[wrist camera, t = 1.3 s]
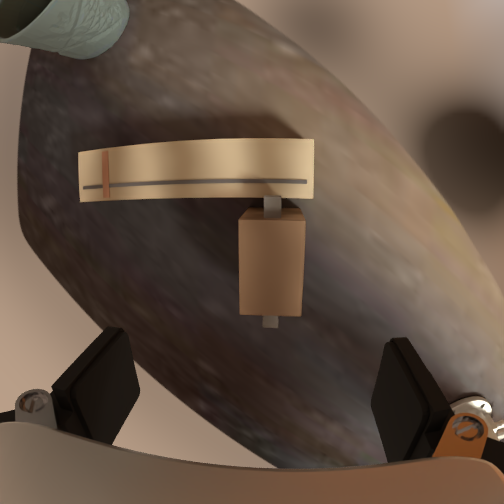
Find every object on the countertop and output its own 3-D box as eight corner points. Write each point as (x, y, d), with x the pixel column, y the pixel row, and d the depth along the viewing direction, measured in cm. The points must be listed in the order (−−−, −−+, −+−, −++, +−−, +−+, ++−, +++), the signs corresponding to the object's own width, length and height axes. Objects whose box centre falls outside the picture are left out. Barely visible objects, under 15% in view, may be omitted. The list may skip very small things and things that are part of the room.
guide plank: (309, 143, 26) (314, 139, 22) (308, 194, 27) (313, 198, 23) (100, 152, 28) (77, 152, 24) (102, 197, 29) (79, 202, 25)
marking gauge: (300, 191, 28) (306, 198, 21) (296, 297, 30) (299, 334, 23) (248, 190, 28) (238, 197, 21) (249, 296, 30) (240, 332, 24)
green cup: (153, 9, 24) (98, -48, 12) (90, 84, 26) (11, 59, 15) (100, -19, 23) (44, -64, 11) (46, 47, 25) (-24, 23, 14)
